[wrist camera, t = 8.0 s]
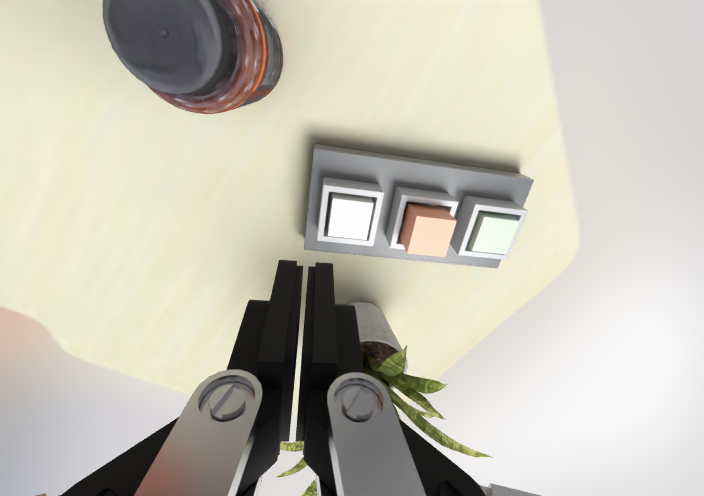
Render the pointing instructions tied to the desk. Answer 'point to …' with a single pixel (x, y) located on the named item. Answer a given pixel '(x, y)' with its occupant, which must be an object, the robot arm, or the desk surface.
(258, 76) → the supplement bottle
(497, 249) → the button
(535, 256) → the desk surface
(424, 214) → the button
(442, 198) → the panel
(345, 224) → the button
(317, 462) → the robot arm
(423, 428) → the house plant
